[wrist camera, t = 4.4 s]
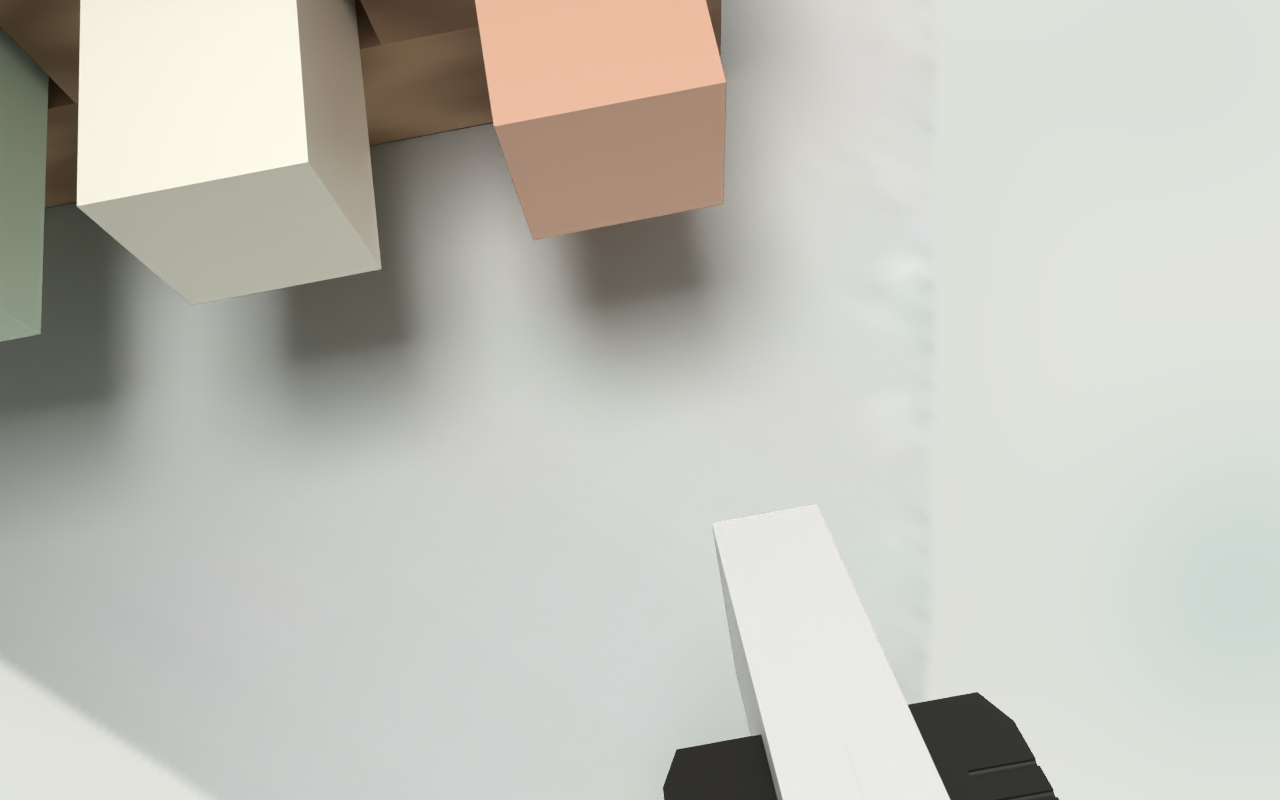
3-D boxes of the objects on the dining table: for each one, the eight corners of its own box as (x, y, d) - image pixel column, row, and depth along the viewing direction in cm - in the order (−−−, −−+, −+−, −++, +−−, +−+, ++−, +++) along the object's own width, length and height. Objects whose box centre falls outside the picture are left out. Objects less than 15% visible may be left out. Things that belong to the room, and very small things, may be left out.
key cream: (192, 305, 26) (76, 206, 21) (184, 27, 29) (82, -114, 24) (381, 269, 26) (308, 161, 21) (354, -5, 29) (284, -153, 24)
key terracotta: (533, 239, 26) (493, 126, 21) (490, -32, 29) (446, -184, 24) (723, 203, 26) (726, 81, 21) (660, -64, 29) (650, -223, 24)
